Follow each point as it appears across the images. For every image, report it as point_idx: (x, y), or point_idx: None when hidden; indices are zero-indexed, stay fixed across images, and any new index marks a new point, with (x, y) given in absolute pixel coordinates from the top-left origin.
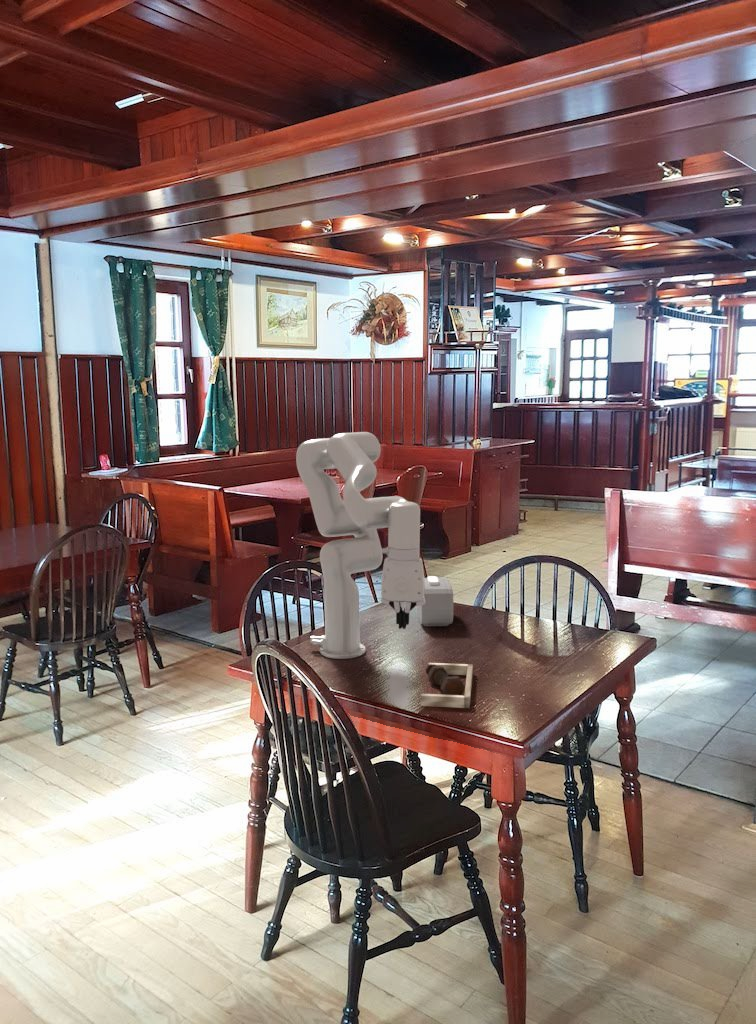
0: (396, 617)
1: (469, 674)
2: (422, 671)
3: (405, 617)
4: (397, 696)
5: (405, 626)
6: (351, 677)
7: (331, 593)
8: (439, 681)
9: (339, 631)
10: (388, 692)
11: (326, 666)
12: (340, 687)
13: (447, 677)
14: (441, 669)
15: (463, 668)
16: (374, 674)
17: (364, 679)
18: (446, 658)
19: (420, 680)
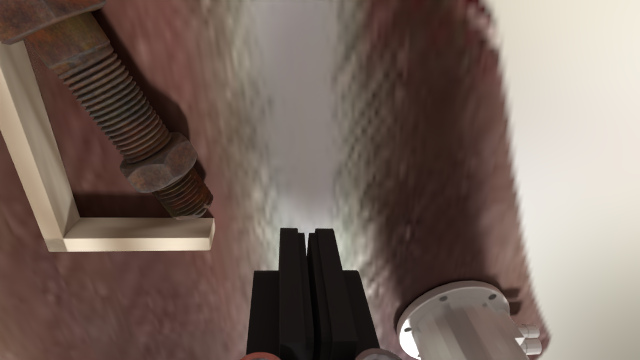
0: (367, 311)
1: (22, 161)
2: (235, 231)
3: (279, 313)
4: (300, 4)
5: (279, 254)
6: (448, 170)
7: None
8: (131, 85)
9: (501, 354)
10: (335, 46)
11: (504, 236)
12: (494, 86)
13: (46, 15)
14: (134, 165)
15: (84, 232)
16: (379, 197)
17: (411, 158)
18: (181, 317)
19: (231, 164)
